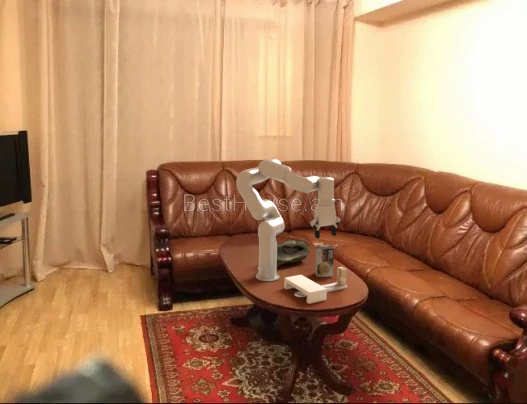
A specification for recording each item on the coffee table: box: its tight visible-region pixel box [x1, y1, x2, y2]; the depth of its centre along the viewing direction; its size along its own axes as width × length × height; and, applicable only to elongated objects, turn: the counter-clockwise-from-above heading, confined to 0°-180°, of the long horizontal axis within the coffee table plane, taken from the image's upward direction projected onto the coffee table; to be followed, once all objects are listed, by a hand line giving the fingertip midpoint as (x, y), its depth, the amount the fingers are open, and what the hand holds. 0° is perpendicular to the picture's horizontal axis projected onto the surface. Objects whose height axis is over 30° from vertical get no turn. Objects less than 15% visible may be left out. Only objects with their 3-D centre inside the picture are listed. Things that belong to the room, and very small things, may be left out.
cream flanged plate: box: [283, 274, 328, 305], centre depth 235 cm, size 22×10×6 cm, turn 30°
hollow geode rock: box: [277, 238, 311, 268], centre depth 282 cm, size 28×13×15 cm
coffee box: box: [314, 244, 335, 278], centre depth 261 cm, size 9×6×16 cm
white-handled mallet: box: [321, 266, 348, 293], centre depth 242 cm, size 6×18×10 cm, turn 119°
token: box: [293, 291, 307, 298], centre depth 234 cm, size 6×6×1 cm
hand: (325, 236), depth 237 cm, fingers open, 9 cm apart
